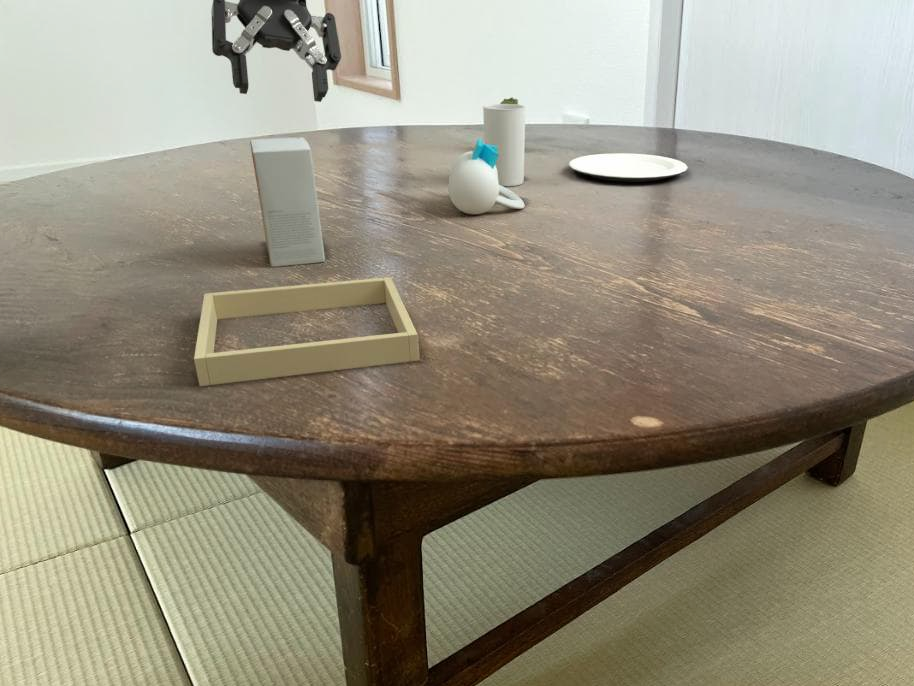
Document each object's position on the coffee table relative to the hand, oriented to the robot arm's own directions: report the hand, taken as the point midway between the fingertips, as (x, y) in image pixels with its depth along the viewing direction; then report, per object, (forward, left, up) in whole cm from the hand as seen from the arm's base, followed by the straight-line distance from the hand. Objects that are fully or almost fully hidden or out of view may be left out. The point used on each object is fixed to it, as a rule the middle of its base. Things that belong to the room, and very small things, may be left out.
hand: (282, 94), depth 93 cm
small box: (-1, -6, -18) cm, 19 cm away
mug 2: (+27, +10, -18) cm, 34 cm away
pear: (+43, +54, -18) cm, 71 cm away
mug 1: (+34, +28, -18) cm, 47 cm away
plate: (+57, +28, -18) cm, 66 cm away
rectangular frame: (-1, -34, -17) cm, 38 cm away
